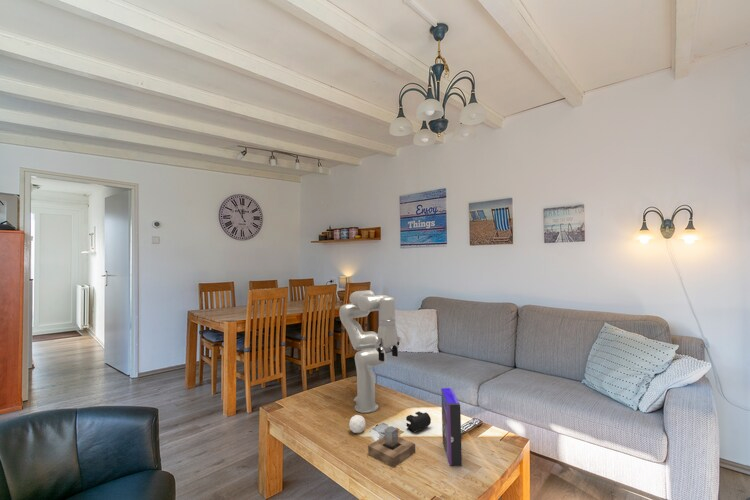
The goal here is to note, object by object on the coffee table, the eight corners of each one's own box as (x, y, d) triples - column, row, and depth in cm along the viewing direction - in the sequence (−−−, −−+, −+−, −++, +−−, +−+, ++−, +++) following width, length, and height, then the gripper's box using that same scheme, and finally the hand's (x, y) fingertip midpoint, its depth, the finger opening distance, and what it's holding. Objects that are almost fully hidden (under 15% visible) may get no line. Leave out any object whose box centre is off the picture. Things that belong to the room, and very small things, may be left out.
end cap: (416, 435, 165) (416, 420, 165) (405, 429, 171) (405, 415, 171) (431, 428, 172) (430, 414, 172) (420, 423, 177) (420, 409, 177)
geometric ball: (360, 439, 168) (362, 430, 163) (345, 431, 170) (346, 422, 166) (367, 425, 174) (369, 416, 169) (352, 417, 176) (354, 408, 171)
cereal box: (442, 442, 158) (441, 388, 159) (453, 442, 158) (452, 387, 158) (449, 466, 141) (448, 404, 141) (461, 466, 141) (460, 404, 141)
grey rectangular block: (385, 453, 151) (384, 429, 151) (391, 449, 154) (390, 425, 154) (392, 456, 148) (391, 432, 148) (398, 452, 151) (397, 428, 151)
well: (368, 454, 151) (368, 445, 151) (390, 440, 161) (390, 432, 161) (393, 467, 141) (393, 458, 141) (415, 452, 151) (415, 443, 151)
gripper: (393, 319, 182) (394, 353, 182) (369, 324, 170) (370, 361, 170) (404, 320, 177) (405, 355, 177) (381, 326, 165) (382, 364, 164)
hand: (388, 358), depth 173 cm, fingers open, 9 cm apart
